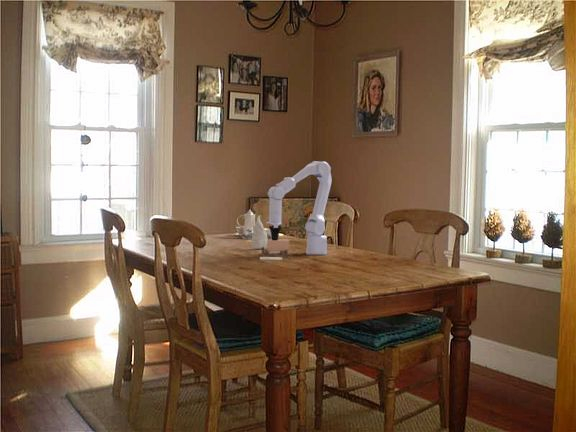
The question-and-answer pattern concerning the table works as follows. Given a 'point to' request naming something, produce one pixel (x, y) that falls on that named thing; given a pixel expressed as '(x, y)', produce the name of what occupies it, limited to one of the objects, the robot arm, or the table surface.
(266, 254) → the rack
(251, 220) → the chinaware
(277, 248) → the salmon pink block
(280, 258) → the fired strip
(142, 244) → the table surface
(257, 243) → the stone tool
